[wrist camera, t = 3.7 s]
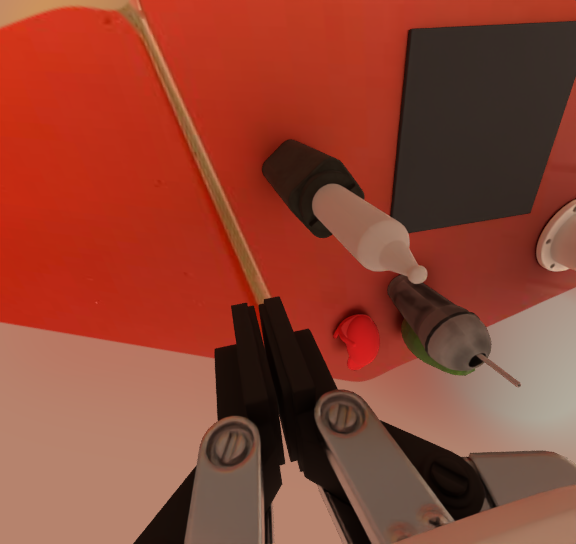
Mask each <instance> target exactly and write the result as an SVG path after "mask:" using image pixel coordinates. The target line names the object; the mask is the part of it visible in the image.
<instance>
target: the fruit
mask: <svg viewBox="0 0 576 544" xmlns="http://www.w3.org/2000/svg"><path fill="white" fill-rule="evenodd" d="M401 332H402V337H403V340H404V342H405V343H406V345H407V347H408V348H409V350H410V351H411V352H412V353H413V354H414V355H415V356H416V357H417V358H419V359H420V360H422V361H423V362H425V363H427V364H429V365H431V366H433V367H436V368H438V369H440V370H442V371H444V372H447V373H450V374H453V375H467V374H469V373H471V372H473V371H475V369H472V370H467V371H458V370H452V369H449V368H446V367H444V366H442V365H441V364H439V363H438V362H436V361H435V360H434V359H433V358H431V357H430V356H428V355H427V353H426V351H425V348H424V347H423V345H422V343H421V341H420V339H419V337H418V336H417V334H416V333H415V332H414V330H413V329H412V328H411V326H410V325H409V324H408V322H407V321H406V319H405V318H404V320H403V322H402V326H401Z"/></svg>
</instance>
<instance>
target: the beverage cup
mask: <svg viewBox="0 0 576 544" xmlns="http://www.w3.org/2000/svg"><path fill="white" fill-rule="evenodd" d="M387 291H388V295H389V297H390V298H391V299H392V301H393V303H394V304H395V306H396V307H397V308H398V310H399V311H400V313H401V314H402V315H403V317H404V318H405V319H406V321H407V322H408V324H409V325H410V326H411V328H412V329H413V330H414V332H415V333H416V334H417V336H418V337H419V339H420V341H421V343H422V345H423V347H424V348H425V351H426V353H427V355H428V356H430V357H431V358H433V359H434V360H435V361H436V362H438V363H439V364H441V365H442V366H444V367H446V368H449V369H452V370H458V371H467V370H472V369H475V368H477V367H479V366H481V365H482V364H483V363H484V362H485V363H486V364H488V365H489V366H490V367H492V368H493V369H494V370H496V371H497V372H498V373H499V374H501V375H502V376H503V377H505V378H506V379H507V380H509V381H510V382H511V383H512V384H514V385H515V386H516V387H520V386H521V383H520V382H518V381H517V380H516V379H514V378H513V377H512V376H510V375H509V374H508V373H506V372H505V371H504V370H502V369H501V368H500V367H498V366H497V365H496V364H494V363H493V362H492V361H490V360H489V359H488V356H489V354H490V351H491V338H490V335H489V333H488V330H487V328H486V326H485V325H484V324H483V323H482V322H481V321H480V319H479V317H478V316H476V315H475V314H474V313H472V312H469V311H467V310H466V309H464V308H462V307H460V306H457V305H455V304H454V303H452V302H451V301H449V300H448V299H446V298H445V297H443V296H442V295H440V294H439V293H437V292H436V291H434V290H433V289H431V288H430V287H428V286H427V285H425V284H424V283H419V284H414V283H412V282H410V281H409V279H408V276H405V275H399V276H397V277H396V278H394V279H393V280H392V281H391V282H390V284H389V286H388V290H387Z"/></svg>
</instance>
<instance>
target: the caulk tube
mask: <svg viewBox="0 0 576 544" xmlns="http://www.w3.org/2000/svg"><path fill="white" fill-rule="evenodd" d="M262 172H263V175H264V176H265V178H266V179H267V180H268V182H269V183H270V184H271V185H272V187H273V188H274V189H275V191H276V192H277V193H278V194H279V196H280V197H281V198H282V200H283V201H284V202H285V203H286V205H287V206H288V207H289V209H290V210H291V211H292V212H293V213H294V214H295V215H296V217H297V218H298V219H299V220H300V221H301V222H302V223H303V224H304V225H305V226H306V227H307V228H308V229H309V230H310V231H311V232H312V233H313V234H314V235H315V236H316V237H319V238H327V237H329V236H331V235H332V234H333V235H334V236H335V237H336V238H337V239H338V240H339V241H340V242H341V243H342V245H343V246H344V247H345V248H346V249H347V250H348V251H349V252H350V253H351V254H352V255H353V256H354V257H355V258H356V259H357V260H358V261H359V262H360V263H361V265H363V266H364V267H365V268H367V269H369V270H372V271H387V270H390V271H393V272H396V273H399V274H402V275H405V276H408V279H409V281H410V282H412V283H414V284H419V283H422V282H424V281H425V280H426V278H427V270H426V268H424V267H423V266H420V265H418V264H417V262H416V260H415V258H414V257H413V255H412V253H411V251H410V249H409V245H410V243H409V234H408V232H407V230H406V228H405V227H404V226H403V225H402V224H401V223H400V222H398V221H397V220H395V219H393V218H392V217H390V216H389V215H387V214H385V213H384V212H382V211H381V210H379V209H378V208H376V207H374V206H373V205H371V204H370V203H368V202H366V201H365V200H364V193H363V191H362V189H361V188H360V186H359V185H358V184H357V182H356V181H355V180H354V178H353V177H352V176H351V174H350V173H349V171H348V170H347V169H346V167H345V166H344V165H343V163H342V162H341V161H340V160H338V159H336V158H334V157H331V156H329V155H327V154H325V153H322V152H320V151H318V150H316V149H313V148H311V147H309V146H307V145H304V144H302V143H300V142H298V141H295V140H292V139H291V140H287V141H285V142H284V143H283V144H282V145H281V146H280V147H279V148H278V149H277V150H276V151H275V152H274V153H273V154H272V155H271V156H270V157H269V158H268V159H267V160H266V161H265V162H264V164H263V166H262Z"/></svg>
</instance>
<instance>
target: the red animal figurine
mask: <svg viewBox="0 0 576 544" xmlns="http://www.w3.org/2000/svg"><path fill="white" fill-rule="evenodd" d="M338 336H340V338H341V340H342V341H343V342H344V343H346V347H347V351H348V354H349V359H348V362H347V365H348V368H349V369H351V370H358V369H360V368H362V367H364V366H365V365H367V364H369V363H371V362H372V361H373V360H374V359H375V357H376V355H377V353H378V350H379V346H380V337H379V332H378V329H377V327H376V325H375V323H374V322H373V321H372V319H371V318H370V317H369V316H367V315H363V314H361V315H360V314H357V315H353V316H350V317H348V318H346V319H345V320H343V321H342V322H341V323H340V325H339V326H338V328H337V329H336V331H335V333H334V334H333V337H334V338H337V337H338Z"/></svg>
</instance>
